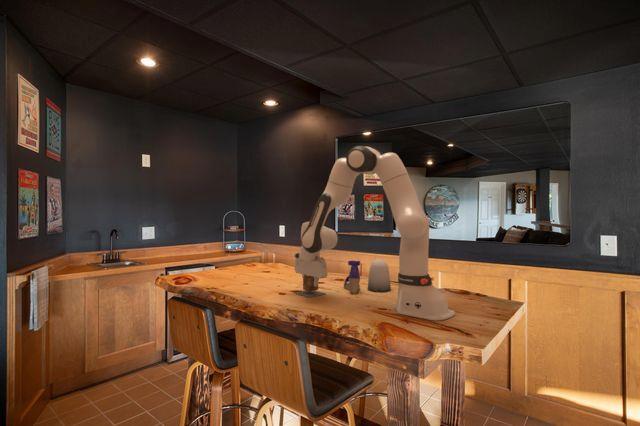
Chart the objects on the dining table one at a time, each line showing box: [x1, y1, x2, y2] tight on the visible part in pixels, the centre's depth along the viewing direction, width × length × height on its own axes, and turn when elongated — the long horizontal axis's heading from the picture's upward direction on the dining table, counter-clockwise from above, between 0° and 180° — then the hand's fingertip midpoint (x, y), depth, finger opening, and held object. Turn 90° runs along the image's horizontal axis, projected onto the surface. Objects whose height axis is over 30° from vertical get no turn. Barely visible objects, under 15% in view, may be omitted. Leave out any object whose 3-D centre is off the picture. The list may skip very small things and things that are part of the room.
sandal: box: [343, 260, 361, 295], centre depth 177 cm, size 8×20×15 cm, turn 175°
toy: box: [367, 258, 392, 293], centre depth 177 cm, size 11×11×15 cm
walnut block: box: [302, 275, 319, 291], centre depth 168 cm, size 5×5×6 cm
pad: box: [295, 290, 327, 299], centre depth 168 cm, size 10×10×1 cm
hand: (310, 285), depth 168 cm, fingers closed on walnut block, 5 cm apart
